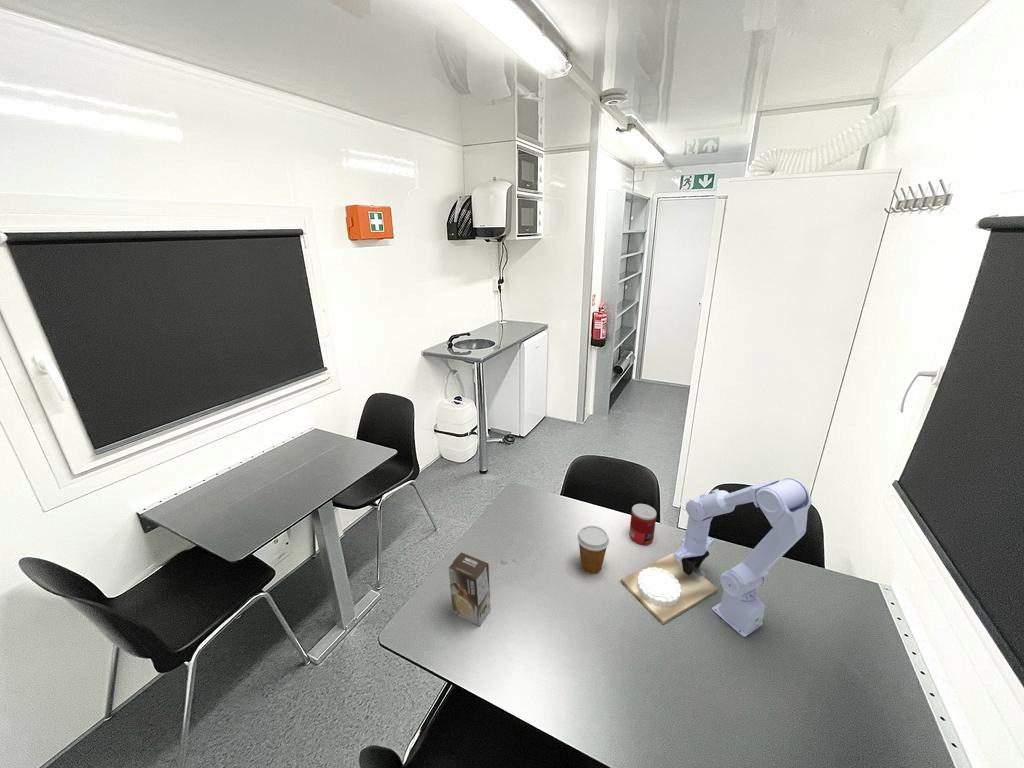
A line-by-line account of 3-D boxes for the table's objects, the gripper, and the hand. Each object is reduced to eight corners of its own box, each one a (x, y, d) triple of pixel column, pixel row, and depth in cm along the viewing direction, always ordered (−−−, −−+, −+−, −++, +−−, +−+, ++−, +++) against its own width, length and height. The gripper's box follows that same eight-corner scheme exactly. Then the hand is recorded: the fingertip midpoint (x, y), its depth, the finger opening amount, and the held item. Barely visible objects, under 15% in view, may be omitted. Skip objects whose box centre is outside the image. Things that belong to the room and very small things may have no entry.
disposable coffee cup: (604, 555, 128) (607, 525, 124) (608, 579, 119) (611, 547, 115) (575, 553, 129) (576, 523, 125) (576, 577, 120) (578, 545, 116)
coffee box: (492, 608, 110) (490, 563, 105) (479, 627, 105) (477, 580, 99) (464, 595, 114) (461, 551, 109) (451, 613, 109) (447, 567, 103)
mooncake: (633, 600, 112) (634, 591, 111) (639, 569, 122) (640, 560, 121) (678, 616, 107) (680, 606, 106) (681, 582, 117) (683, 573, 116)
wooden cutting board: (717, 591, 114) (719, 582, 113) (662, 624, 105) (664, 615, 104) (672, 555, 128) (674, 546, 127) (620, 581, 118) (621, 572, 117)
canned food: (648, 549, 131) (652, 521, 127) (625, 538, 135) (628, 512, 131) (656, 536, 136) (660, 509, 133) (633, 526, 141) (636, 500, 137)
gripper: (701, 518, 122) (695, 553, 126) (668, 534, 115) (662, 570, 120) (722, 532, 116) (715, 568, 120) (688, 549, 109) (681, 587, 114)
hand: (690, 570), depth 120 cm, fingers closed on wooden cutting board, 3 cm apart
